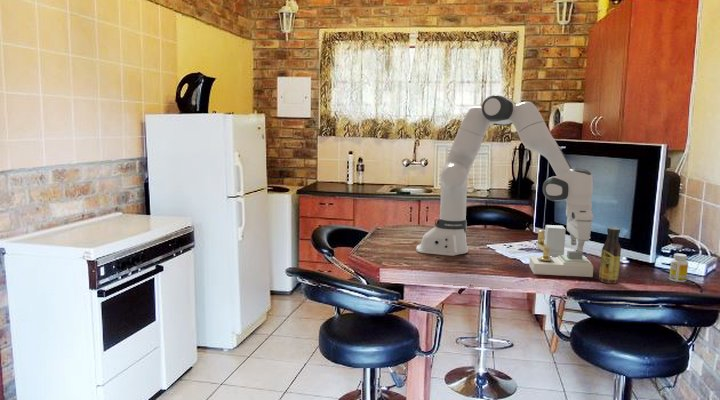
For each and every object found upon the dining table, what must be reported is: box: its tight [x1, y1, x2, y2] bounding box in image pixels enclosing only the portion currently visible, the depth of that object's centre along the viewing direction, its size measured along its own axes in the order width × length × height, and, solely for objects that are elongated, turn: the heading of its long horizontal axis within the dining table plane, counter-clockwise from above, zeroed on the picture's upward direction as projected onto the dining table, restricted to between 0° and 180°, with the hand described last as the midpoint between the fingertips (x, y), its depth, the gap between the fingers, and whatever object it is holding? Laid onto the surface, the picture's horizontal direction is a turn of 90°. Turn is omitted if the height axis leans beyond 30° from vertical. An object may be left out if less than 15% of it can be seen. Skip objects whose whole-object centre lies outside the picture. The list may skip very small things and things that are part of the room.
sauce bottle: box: [598, 226, 622, 285], centre depth 195 cm, size 7×6×20 cm
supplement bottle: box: [668, 253, 689, 283], centre depth 198 cm, size 5×5×10 cm
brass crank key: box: [537, 229, 551, 262], centre depth 211 cm, size 10×4×10 cm, turn 0°
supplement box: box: [544, 224, 567, 258], centre depth 232 cm, size 7×7×13 cm
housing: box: [528, 255, 594, 278], centre depth 208 cm, size 21×11×5 cm, turn 82°
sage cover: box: [561, 250, 589, 263], centre depth 207 cm, size 8×8×4 cm
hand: (576, 247), depth 207 cm, fingers open, 8 cm apart
